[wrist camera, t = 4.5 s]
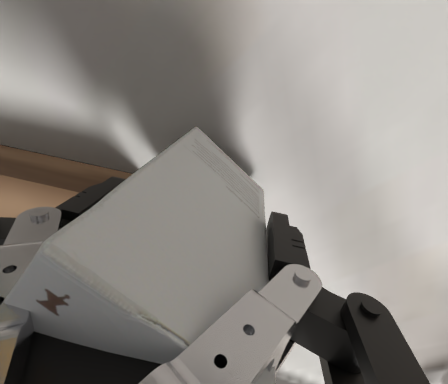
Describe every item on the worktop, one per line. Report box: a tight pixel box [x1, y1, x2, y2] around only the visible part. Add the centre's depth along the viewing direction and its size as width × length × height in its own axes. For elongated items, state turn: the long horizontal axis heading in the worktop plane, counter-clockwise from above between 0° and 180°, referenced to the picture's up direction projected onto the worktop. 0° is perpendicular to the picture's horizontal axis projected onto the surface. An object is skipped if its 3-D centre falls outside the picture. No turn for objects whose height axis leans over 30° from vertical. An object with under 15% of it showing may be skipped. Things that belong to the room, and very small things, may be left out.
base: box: [0, 145, 132, 218], centre depth 19 cm, size 12×14×4 cm
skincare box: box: [2, 127, 276, 384], centre depth 11 cm, size 6×4×12 cm
